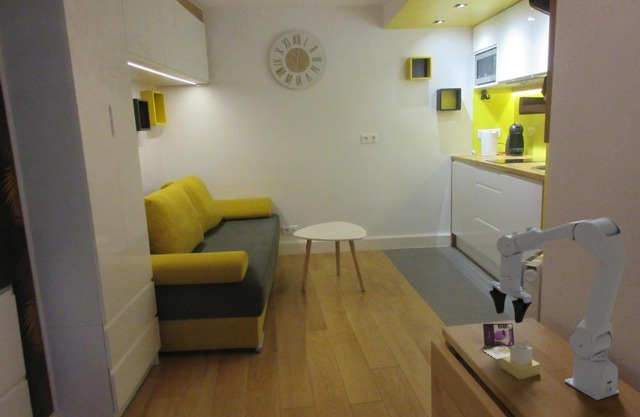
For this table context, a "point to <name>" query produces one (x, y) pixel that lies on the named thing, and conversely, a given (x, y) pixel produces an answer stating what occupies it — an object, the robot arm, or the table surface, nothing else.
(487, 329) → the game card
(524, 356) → the top brick
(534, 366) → the base brick
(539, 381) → the table surface
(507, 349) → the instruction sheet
